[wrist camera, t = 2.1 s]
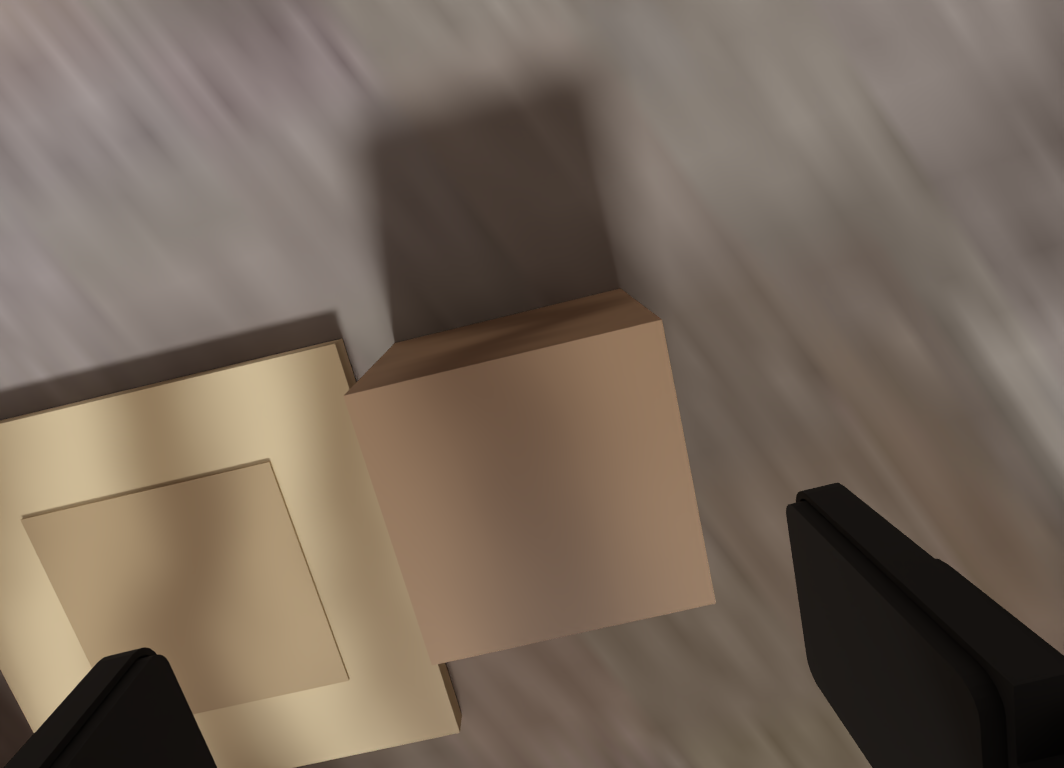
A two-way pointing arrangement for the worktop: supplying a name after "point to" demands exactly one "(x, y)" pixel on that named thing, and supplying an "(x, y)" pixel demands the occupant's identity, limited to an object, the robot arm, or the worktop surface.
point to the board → (217, 562)
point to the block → (534, 475)
